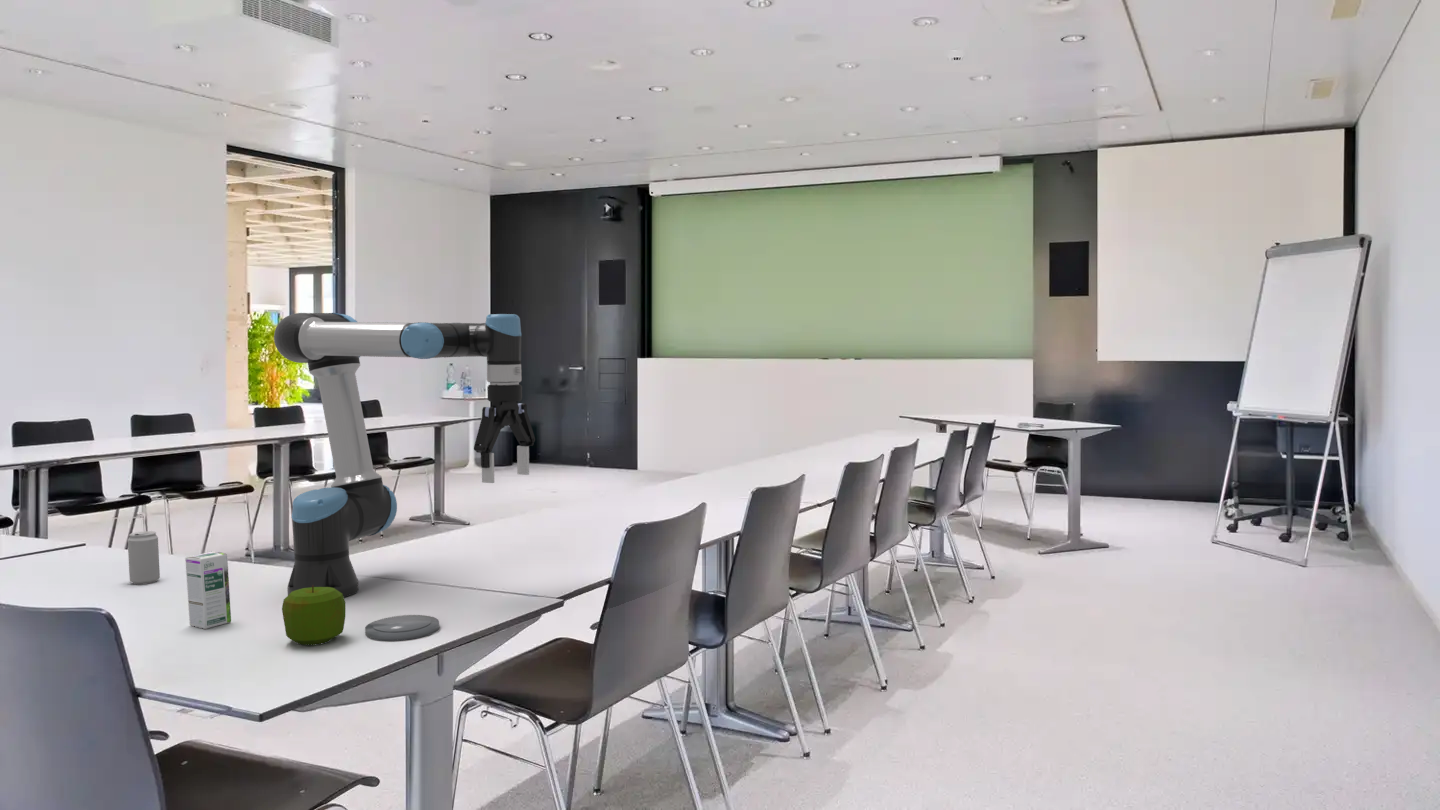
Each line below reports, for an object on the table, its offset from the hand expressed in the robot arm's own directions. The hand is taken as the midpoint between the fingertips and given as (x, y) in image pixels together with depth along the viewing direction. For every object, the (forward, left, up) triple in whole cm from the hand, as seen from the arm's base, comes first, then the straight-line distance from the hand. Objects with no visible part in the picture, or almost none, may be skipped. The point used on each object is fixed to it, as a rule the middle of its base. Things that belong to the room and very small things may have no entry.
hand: (506, 478), depth 231 cm
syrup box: (-53, -30, -26) cm, 66 cm away
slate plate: (-11, -30, -26) cm, 41 cm away
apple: (-25, -38, -26) cm, 53 cm away
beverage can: (-93, +2, -26) cm, 96 cm away
